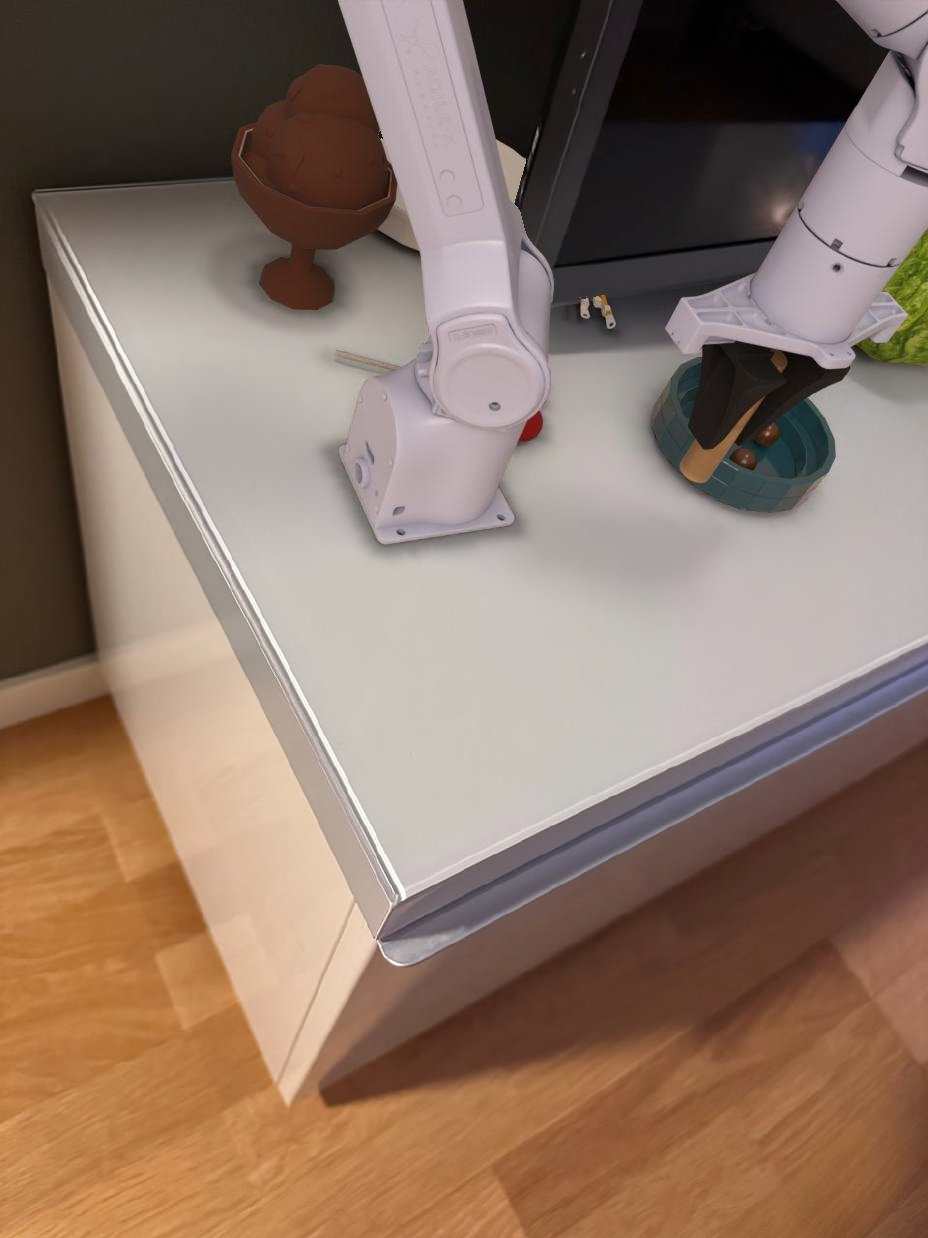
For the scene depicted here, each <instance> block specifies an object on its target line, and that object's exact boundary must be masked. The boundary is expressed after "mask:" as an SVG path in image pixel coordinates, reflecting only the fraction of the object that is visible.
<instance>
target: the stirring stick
mask: <svg viewBox="0 0 928 1238" xmlns="http://www.w3.org/2000/svg"><path fill="white" fill-rule="evenodd" d="M770 351H771V352H772V351H773V352H774V355H773V357H772V358H771V361H772V362H773V363H774V365H775V366H776V367H777V369H778V370H779V371H780V372H781V373H782V372H783V370H784V369H785V367H786V366H787V363H788V362H787V358H786V356H785V355H784V354H783V353H782V352H781V351H780V350H777V349H773V348H771V350H770ZM765 397H766V396H764V397H763V398H762V399H761V400H759V401H758V402H757V403H756V404H755V405H754V406H752V407H751V408H750V409H749V410H748V411H747V412H746V413H745V414H744V416H743V417H742V418H741V419H740V420H739V422H738V423H737V424H736V425H735V427H734V428H733V429H732V430H731V432H730V433H729V434H728V435H727V436H726V438H725V439H724V440H723V441H722V442H721V443H720V444H719V445H717V446H716V447H715V448H713V449H709V450H704V449H702V447H701V446H700V444H699V443H698V441H697V440H696V439H695V440H694V442H693V444H692V445H691V447H690V448H689V450H688V451H687V453H686V455H685V456H684V458H683V459H682V461H681V463H680V470H681V472H682V473H683V475H684V476H683V475H682V476H683V477H684V478H686V477H687V478H688V479H689V480H691V481H694V482H697V483H704V482H706V481H708V480H709V478H710V477H711V475H712V474H713V472H714V471H715V470H716V468H717V467H718V465H719V464H720V462H721V461H722V459H723V458H724V456H725V455H726V453H727V452H728V451H729V449H730V448H731V446H732V445H733V443H734V442H735V440H736V439H737V437H738V436H739V434H740V433H741V432H742V430H743V429H744V427H745V426H746V424H747V423H748V421H749V420H750V418H751V417H752V415H753V414H754V413H755V411H756V410H757V408H758V407H759V405H760V404H761V402H762V401H763V399H764V398H765ZM687 478H686V479H687ZM688 479H687V480H688ZM689 480H688V481H689Z"/></svg>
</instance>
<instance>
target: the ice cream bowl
mask: <svg viewBox="0 0 928 1238" xmlns="http://www.w3.org/2000/svg"><path fill="white" fill-rule="evenodd" d="M379 132H380V128H379V125H378V122H377V119H376V116H375V113H374V109H373V106H372V103H371V100H370V97H369V94H368V91H367V88H366V85H365V82H364V79H363V76H362V74H360V73H358V72H356V71H355V70H354V69H351V68H349V67H345V66H341V65H337V64H335V65H334V64H323V63H318V64H316V65H315V66H314V68H310V69H309V70H307V71H306V72H305V73H304V74H303V75H300V76H298V77H296V78H294V80H292V82H291V83H290V85H289V86H288V88H287V92H286V97H285V99H283V100H278V101H277V102H274V103H273V104H269V105H267V106H266V107H265V108H264V110H263V112H261V114H260V115H259V117H258V118H257V121H256V122H252V123H250V124H246V125H244V126H240V127H239V128H238V130H237V134H236V137H235V139H234V144H233V148H232V151H231V153H230V159H231V166H232V176H233V180H234V181H235V184H236V188H237V190H238V192H239V194H240V197H241V198H242V199H243V200H244V202H245V203H246V204H247V205H248V207H249V208H250V209H251V210H252V212H253V213H254V214H255V215H256V216H257V217H258V219H259V220H260V221H261V222H262V224H263V225H264V226H265V227H266V228H267V229H268V231H269V232H270V233H271V234H272V235H275V236H276V237H278V238H280V239H282V240H283V241H286V242H288V243H290V244H291V250H290V255H289V257H288V256H284V257H283V256H280V257H278V258H275V259H274V260H271V261H269V262H266V263H265V264H264V265H263V267H262V270H261V274H260V278H259V281H258V282H259V283H258V284H259V286H260V287H261V288H262V290H263V291H264V293H265V294H266V295H267V296H268V297H269V299H270V300H272V301H275V302H276V303H278V304H281V305H283V306H284V307H285V306H286V307H287V308H290V309H292V310H307V311H308V310H309V311H318V310H320V309H321V308H323V307H325V306H328V305H330V304H331V303H333V302H334V294H335V281H334V280H333V279H332V277H331V276H330V275H329V274H328V272H327V271H326V270H325V269H324V268H323V266H321V265H318V264H316V263H315V262H314V261H315V255H316V251H317V250H320V251H334V250H335V251H337V250H339V249H340V248H343V247H346V246H347V245H349V244H351V243H353V242H356V241H358V240H360V239H362V238H363V237H366V236H368V235H370V234H372V233H374V232H376V231H378V230H377V229H378V228H379V227H380V226H381V224H382V223H383V222H384V221H385V220H386V219H387V217H388V215H389V213H390V211H391V209H392V207H393V205H394V203H395V201H396V194H397V180H396V177H395V174H394V171H393V168H392V165H391V163H390V162H389V161H388V160H387V157H386V153H385V150H384V147H383V144H382V141H381V139H380V138H379V136H378V135H379Z"/></svg>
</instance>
